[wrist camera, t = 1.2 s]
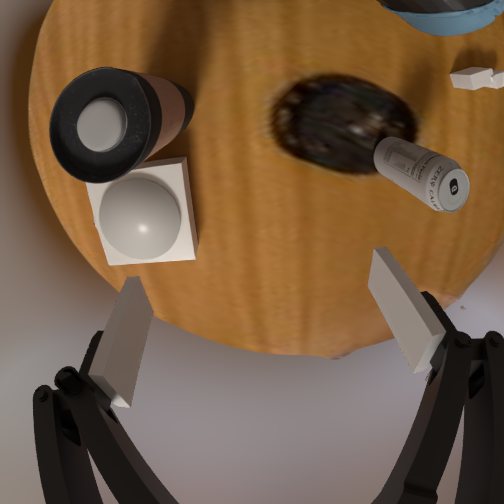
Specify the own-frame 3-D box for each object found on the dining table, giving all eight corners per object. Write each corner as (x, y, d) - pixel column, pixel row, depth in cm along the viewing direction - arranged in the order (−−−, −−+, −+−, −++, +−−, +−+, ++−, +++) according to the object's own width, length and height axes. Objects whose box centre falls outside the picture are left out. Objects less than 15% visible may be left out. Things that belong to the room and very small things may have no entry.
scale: (93, 171, 33) (78, 181, 29) (186, 156, 34) (180, 164, 30) (114, 251, 40) (103, 268, 36) (198, 244, 41) (194, 262, 37)
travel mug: (147, 146, 33) (70, 202, 16) (130, 94, 29) (35, 101, 12) (203, 127, 32) (170, 162, 15) (187, 72, 28) (135, 44, 11)
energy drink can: (378, 181, 37) (439, 227, 24) (364, 145, 34) (429, 177, 22) (409, 165, 36) (475, 203, 23) (397, 129, 33) (468, 154, 20)
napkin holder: (438, 90, 30) (462, 93, 25) (445, 32, 24) (468, 30, 20) (490, 123, 32) (512, 131, 27) (497, 72, 26) (518, 75, 22)
